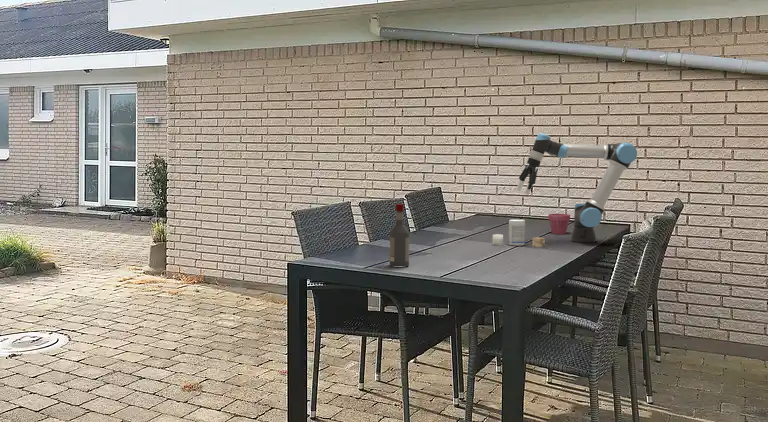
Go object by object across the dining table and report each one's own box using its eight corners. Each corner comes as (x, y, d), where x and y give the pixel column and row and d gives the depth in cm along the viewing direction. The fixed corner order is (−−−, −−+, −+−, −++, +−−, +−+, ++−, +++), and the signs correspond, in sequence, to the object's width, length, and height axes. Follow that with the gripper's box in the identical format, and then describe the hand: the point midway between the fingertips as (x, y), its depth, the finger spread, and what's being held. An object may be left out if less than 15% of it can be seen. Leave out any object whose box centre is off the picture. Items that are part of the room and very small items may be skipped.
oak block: (537, 245, 418) (537, 237, 418) (544, 246, 415) (544, 238, 414) (532, 246, 415) (532, 238, 415) (539, 247, 411) (539, 238, 411)
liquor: (407, 264, 352) (408, 203, 349) (409, 267, 342) (409, 205, 340) (389, 264, 351) (389, 203, 348) (390, 267, 342) (390, 205, 339)
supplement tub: (528, 245, 419) (529, 220, 417) (516, 246, 414) (517, 221, 412) (516, 243, 427) (517, 218, 425) (505, 244, 422) (505, 219, 420)
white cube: (498, 243, 424) (499, 233, 424) (504, 245, 419) (505, 235, 418) (490, 244, 422) (490, 234, 421) (496, 245, 416) (496, 235, 416)
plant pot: (552, 231, 484) (553, 212, 483) (572, 233, 476) (573, 214, 475) (544, 233, 473) (545, 214, 471) (564, 235, 464) (565, 215, 463)
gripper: (522, 154, 434) (509, 187, 436) (537, 159, 410) (524, 193, 412) (532, 158, 436) (520, 191, 438) (548, 163, 411) (535, 197, 414)
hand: (522, 192), depth 425 cm, fingers open, 13 cm apart
